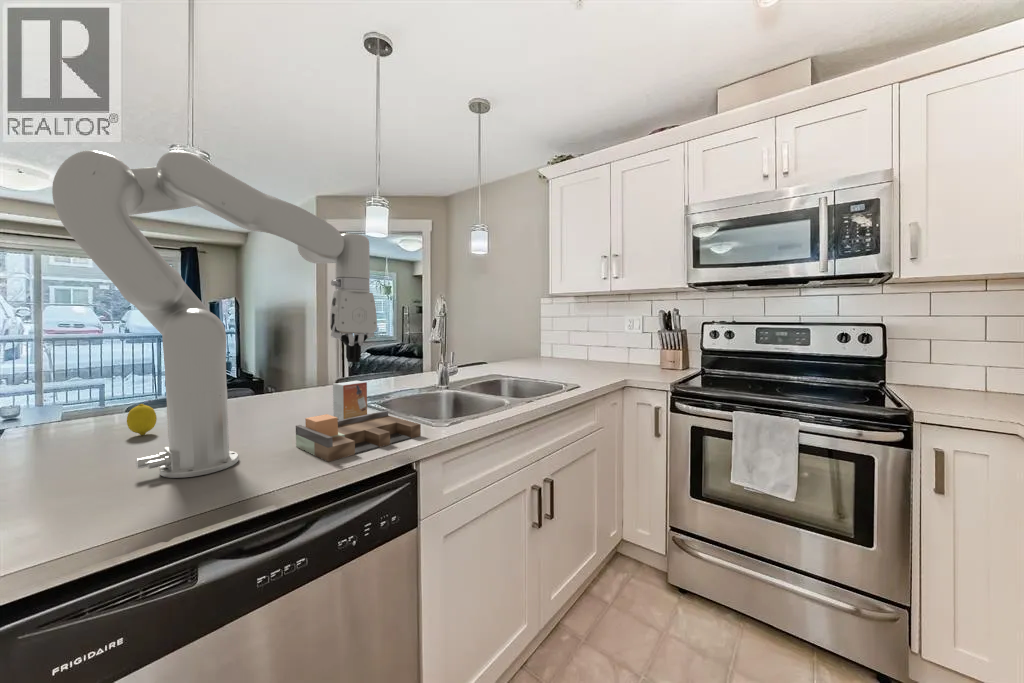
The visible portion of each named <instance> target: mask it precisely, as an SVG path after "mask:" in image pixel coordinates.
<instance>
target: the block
mask: <svg viewBox="0 0 1024 683" xmlns="http://www.w3.org/2000/svg"><path fill="white" fill-rule="evenodd" d="M304 419H305V427H307V428H310V429H312V430H315V431H317V432H320V433H323V434H325V435H328V436H334V435H338V418H337V417H334V416H333V415H331V414H328V413H327V414H320V415H315V416H310V417H309V416H308V417H305V418H304Z"/></svg>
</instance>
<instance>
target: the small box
mask: <svg viewBox="0 0 1024 683" xmlns="http://www.w3.org/2000/svg"><path fill="white" fill-rule="evenodd" d="M332 398H333V399H332V400H333V401H332V406H333V408H332V410H333V415H332V416H334V417H337V418H338V420H343V419H347V418H352V417H357V416H362V415H367V414H368V383H367V381H362V380H351V381H347V382H346V381H345V382H338V383H332Z"/></svg>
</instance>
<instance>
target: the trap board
mask: <svg viewBox="0 0 1024 683" xmlns="http://www.w3.org/2000/svg"><path fill="white" fill-rule="evenodd" d="M421 426H422V425H421V423H417V422H414V421H410V420H406V419H404V418H399V417H396V416H392V415H389V410H383V411H376V412H373V413H367V415H362V416H357V417H352V418H347V419H343V420H338V435H334V436H328V435H325V434H323V433H320V432H317V431H315V430H312V429H310V428H307V427H306V426H305V425H302V424H298V425H295V446H296V448H297V447H298V448H297V449H299V448H300V450H301V451H304V450H305V451H304V452H306V453H308V452H309V453H308V454H310V453H311V455H312V454H313V455H312V456H314V455H315V457H316V458H319V457H320V458H319V459H321V458H322V459H321V460H323V459H324V460H323V461H325V460H326V461H325V462H328V463H329V462H333V461H337V460H340V459H343V458H346V457H350V456H355V455H357V454H361V453H362V454H363V453H365V452H368V451H372V450H376V449H380V448H382V447H386V446H390V445H394V444H397V443H401V442H403V441H407V440H411V439H415V438H418V437H421V435H422V434H421V431H422V430H421V428H422V427H421Z"/></svg>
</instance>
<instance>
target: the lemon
mask: <svg viewBox="0 0 1024 683" xmlns="http://www.w3.org/2000/svg"><path fill="white" fill-rule="evenodd" d="M157 420H158V418H157V412H156V411H155V409H154V408H153V407H151V406H149V405H146V404H144V403H140V404H138V405H136V406H134V407H132V408H131V409H130V410H129V411H128V413H127V416H126V425H127V427H128V430H129V431H130V432H133V433H135V434H138V435H140V436H144V435H145V434H146V433H148V432H150V431H151V430H153V429H154V427H155V426H156V424H157Z"/></svg>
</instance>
